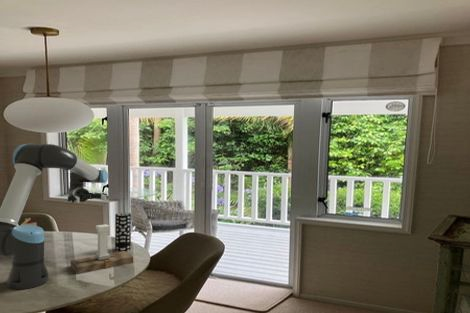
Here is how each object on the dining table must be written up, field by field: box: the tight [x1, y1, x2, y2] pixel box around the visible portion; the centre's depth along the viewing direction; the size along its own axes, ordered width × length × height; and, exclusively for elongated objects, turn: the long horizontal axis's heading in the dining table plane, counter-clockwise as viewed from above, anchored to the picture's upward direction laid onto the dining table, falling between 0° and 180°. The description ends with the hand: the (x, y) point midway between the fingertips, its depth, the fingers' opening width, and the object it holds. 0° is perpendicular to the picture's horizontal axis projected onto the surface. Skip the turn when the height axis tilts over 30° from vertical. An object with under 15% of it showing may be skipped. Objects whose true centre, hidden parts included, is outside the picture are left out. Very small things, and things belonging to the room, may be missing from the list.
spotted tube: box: [114, 212, 132, 253], centre depth 194 cm, size 8×8×20 cm
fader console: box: [70, 251, 134, 275], centre depth 169 cm, size 26×12×3 cm, turn 129°
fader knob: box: [94, 223, 111, 260], centre depth 169 cm, size 5×6×16 cm
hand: (92, 199), depth 181 cm, fingers open, 13 cm apart
